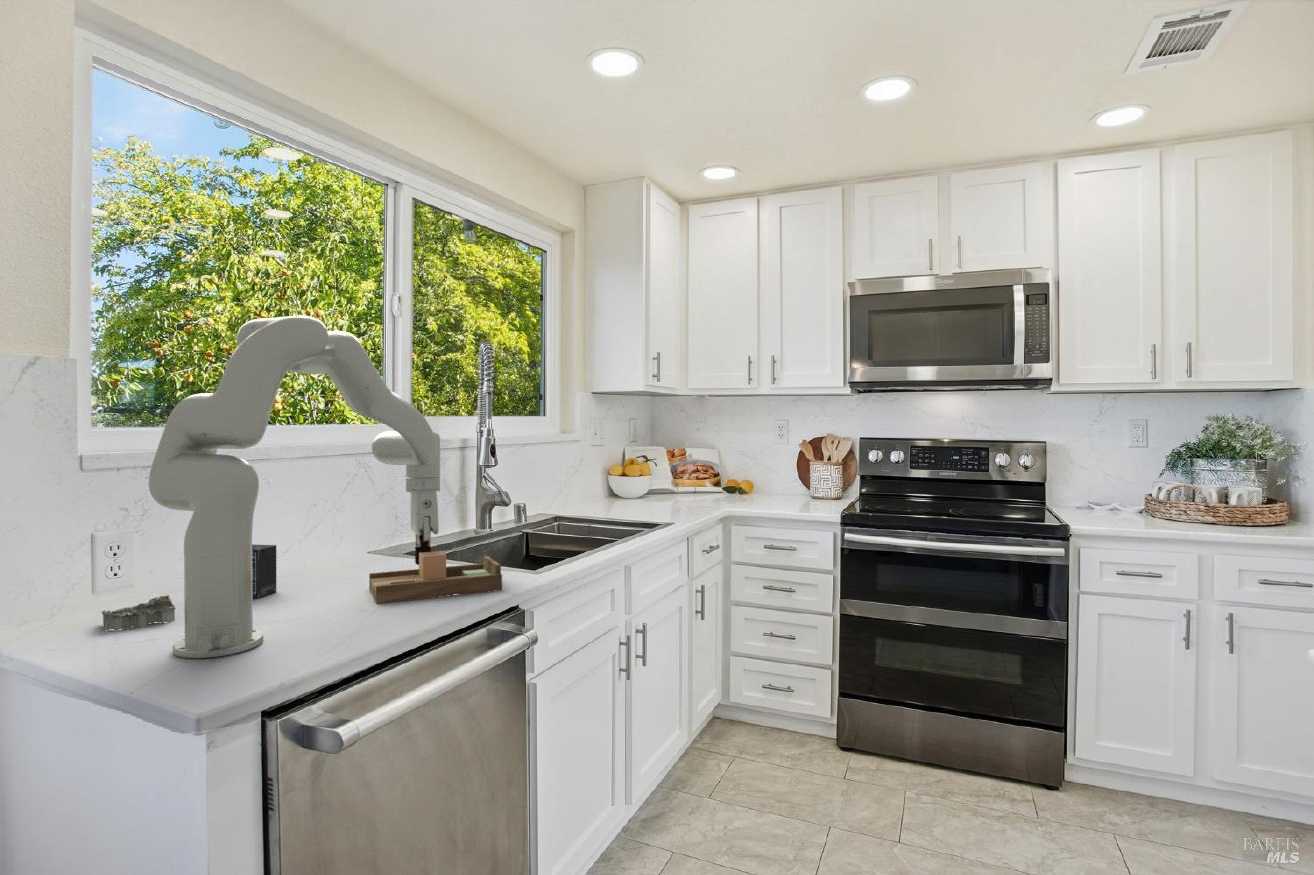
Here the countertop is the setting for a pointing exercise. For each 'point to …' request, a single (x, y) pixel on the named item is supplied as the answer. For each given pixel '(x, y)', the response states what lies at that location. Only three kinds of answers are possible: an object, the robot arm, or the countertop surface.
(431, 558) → the block
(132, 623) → the egg carton
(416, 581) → the wooden desk organizer
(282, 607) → the countertop surface
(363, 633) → the countertop surface
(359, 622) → the countertop surface
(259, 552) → the small box
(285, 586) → the countertop surface
